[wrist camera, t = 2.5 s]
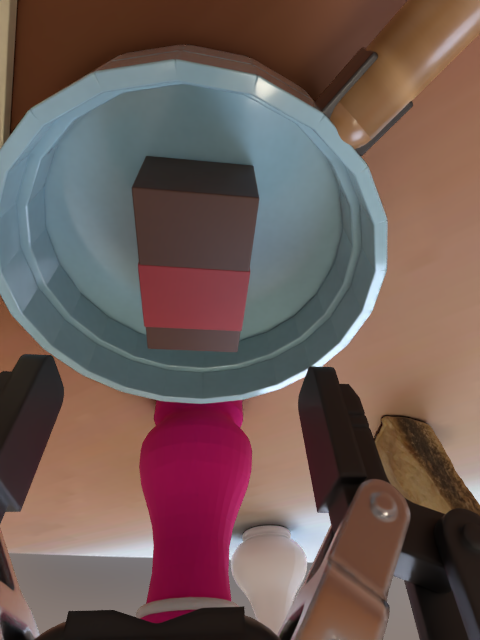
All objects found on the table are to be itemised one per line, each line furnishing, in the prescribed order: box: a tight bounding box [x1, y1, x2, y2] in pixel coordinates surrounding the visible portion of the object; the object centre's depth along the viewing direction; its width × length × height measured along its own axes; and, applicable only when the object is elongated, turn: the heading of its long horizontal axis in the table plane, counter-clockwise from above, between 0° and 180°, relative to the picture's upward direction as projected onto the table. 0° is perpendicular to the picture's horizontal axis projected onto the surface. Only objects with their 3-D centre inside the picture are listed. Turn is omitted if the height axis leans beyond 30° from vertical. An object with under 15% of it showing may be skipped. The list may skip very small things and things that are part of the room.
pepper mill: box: [136, 400, 252, 623], centre depth 19 cm, size 7×7×20 cm
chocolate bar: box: [132, 156, 259, 352], centre depth 16 cm, size 8×4×3 cm, turn 174°
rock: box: [375, 416, 480, 516], centre depth 31 cm, size 11×9×10 cm
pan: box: [0, 44, 388, 404], centre depth 16 cm, size 15×16×4 cm
